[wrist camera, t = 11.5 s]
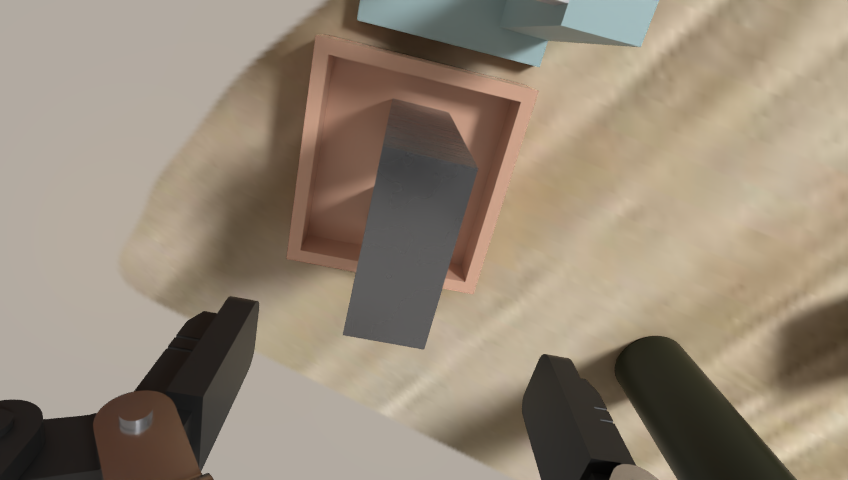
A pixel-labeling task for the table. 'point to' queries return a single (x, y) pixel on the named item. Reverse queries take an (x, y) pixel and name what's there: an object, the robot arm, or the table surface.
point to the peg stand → (515, 23)
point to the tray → (363, 139)
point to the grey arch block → (410, 226)
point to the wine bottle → (692, 416)
